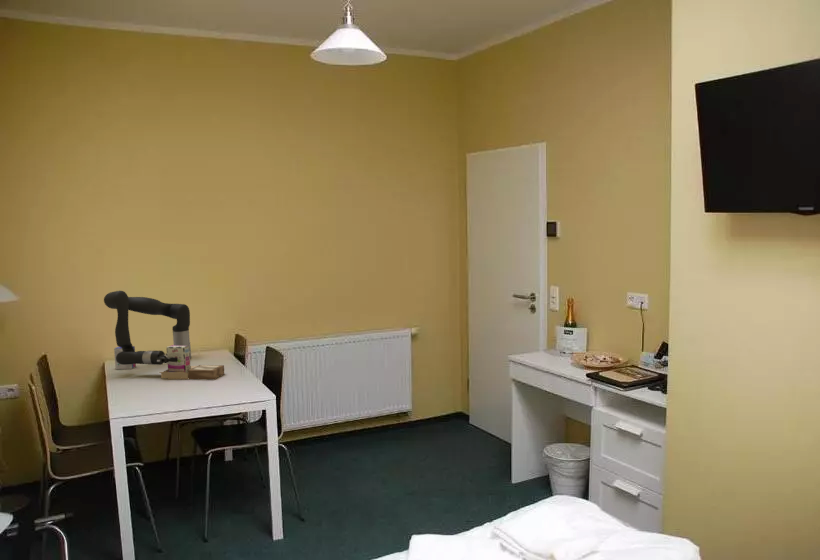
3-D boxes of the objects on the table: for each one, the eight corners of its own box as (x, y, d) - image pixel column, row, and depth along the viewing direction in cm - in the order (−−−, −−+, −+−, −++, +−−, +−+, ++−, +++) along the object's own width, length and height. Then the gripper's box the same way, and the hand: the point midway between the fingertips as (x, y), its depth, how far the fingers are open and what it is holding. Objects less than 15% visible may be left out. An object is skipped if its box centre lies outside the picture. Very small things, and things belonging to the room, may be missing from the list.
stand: (200, 373, 350) (199, 364, 349) (224, 374, 347) (223, 365, 347) (188, 379, 338) (188, 370, 338) (213, 379, 336) (213, 370, 335)
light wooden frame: (173, 372, 354) (172, 365, 353) (200, 373, 351) (199, 366, 351) (159, 379, 340) (158, 372, 340) (186, 379, 337) (186, 372, 337)
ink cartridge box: (136, 366, 371) (134, 341, 370) (132, 369, 366) (130, 343, 364) (119, 367, 372) (117, 342, 370) (115, 369, 366) (113, 344, 365)
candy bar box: (191, 375, 346) (189, 345, 345) (185, 378, 342) (183, 347, 340) (173, 374, 350) (171, 344, 348) (167, 377, 345) (165, 346, 343)
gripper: (145, 353, 340) (173, 353, 337) (160, 347, 354) (187, 348, 351) (146, 367, 341) (174, 368, 338) (161, 361, 354) (188, 361, 352)
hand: (181, 357), depth 344 cm, fingers open, 8 cm apart
